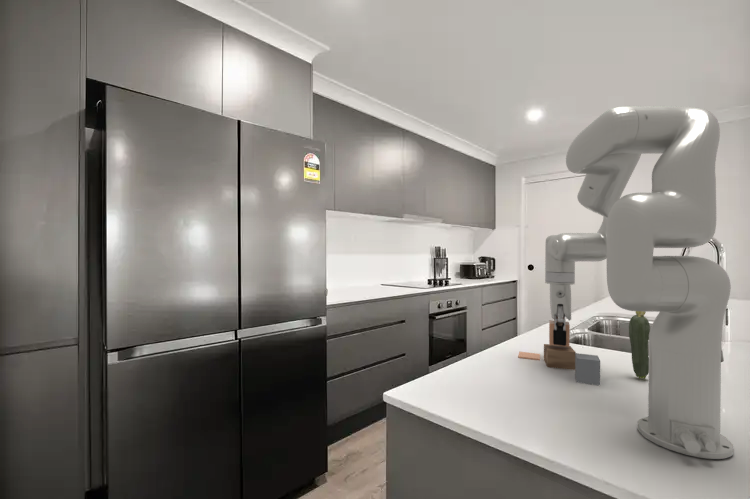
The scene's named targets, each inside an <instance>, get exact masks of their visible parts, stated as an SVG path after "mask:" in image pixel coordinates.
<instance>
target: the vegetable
mask: <svg viewBox="0 0 750 499" xmlns="http://www.w3.org/2000/svg"><path fill="white" fill-rule="evenodd" d="M634 312H635V315H633V316H631V318H629V322H628V323H629V324H628V337H629V342H630V350H631V364H632V368H633V372H634V374H635V376H636V377H637V378H638V379H646V378H647V376H649V334H650V330H651V326H650V321H649V319H648V318H646V316H645V315H646V312H643V311H634Z"/></svg>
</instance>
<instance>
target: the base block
mask: <svg viewBox="0 0 750 499" xmlns="http://www.w3.org/2000/svg"><path fill="white" fill-rule="evenodd" d="M575 353H577V352H576V350H574V349H573V347H572V346H571V345H569V347H567V346H557V345H549V343H544V344H543V362H544V363H545V366H546V367H547V368H548V369H549V368H550V369H560V370H561V369H563V370H571V371H572V370H573V371H575Z"/></svg>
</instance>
